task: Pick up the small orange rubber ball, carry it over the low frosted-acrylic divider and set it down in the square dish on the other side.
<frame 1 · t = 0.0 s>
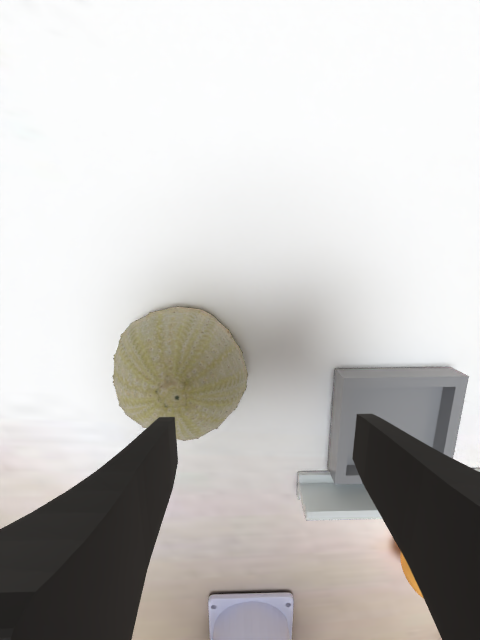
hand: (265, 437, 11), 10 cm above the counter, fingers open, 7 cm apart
dish: (386, 419, 22), on the counter
divider: (390, 481, 23), on the counter
sea urchin shell: (186, 362, 21), on the counter
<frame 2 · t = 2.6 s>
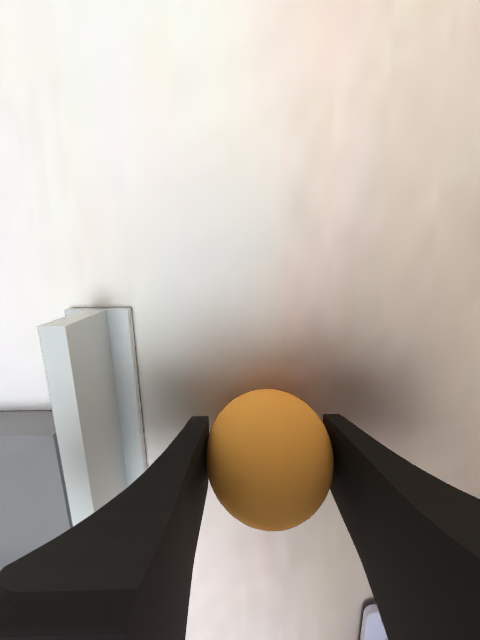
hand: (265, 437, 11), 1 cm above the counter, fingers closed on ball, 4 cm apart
divider: (121, 477, 13), on the counter
ball: (268, 452, 10), point 2 cm above the counter, touching gripper
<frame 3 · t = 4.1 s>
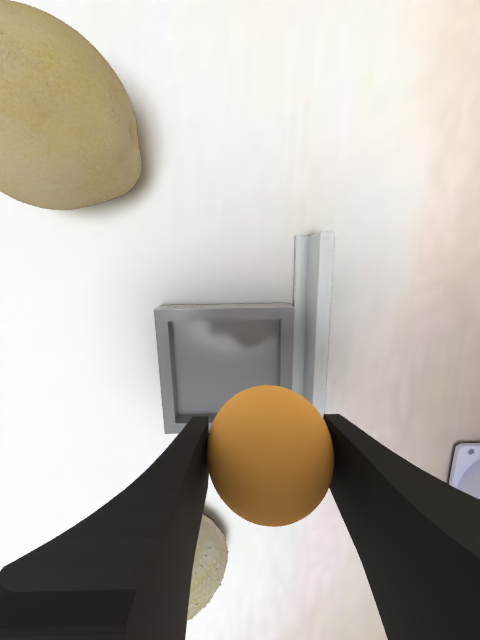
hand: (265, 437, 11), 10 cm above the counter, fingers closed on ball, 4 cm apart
dish: (227, 364, 20), on the counter
divider: (308, 349, 20), on the counter
ball: (268, 448, 10), point 10 cm above the counter, touching gripper
potato: (94, 157, 17), on the counter
sea urchin shell: (175, 533, 24), on the counter
when the fingers open (3 cm above the counter, at t = 5.9 s): ball stays where it is, resting on dish.
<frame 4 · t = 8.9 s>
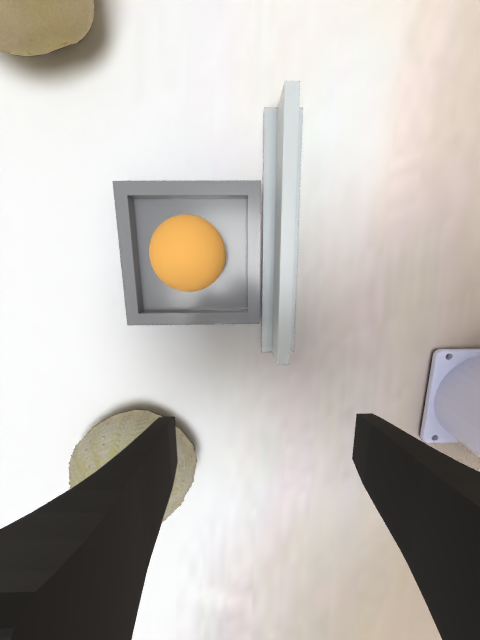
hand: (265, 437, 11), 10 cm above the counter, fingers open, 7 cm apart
dish: (194, 256, 19), on the counter
divider: (279, 241, 19), on the counter
ball: (188, 254, 16), point 3 cm above the counter, touching dish
potato: (49, 16, 16), on the counter
sea urchin shell: (144, 449, 23), on the counter
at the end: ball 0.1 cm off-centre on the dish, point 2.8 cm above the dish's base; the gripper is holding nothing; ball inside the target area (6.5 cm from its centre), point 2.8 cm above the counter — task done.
